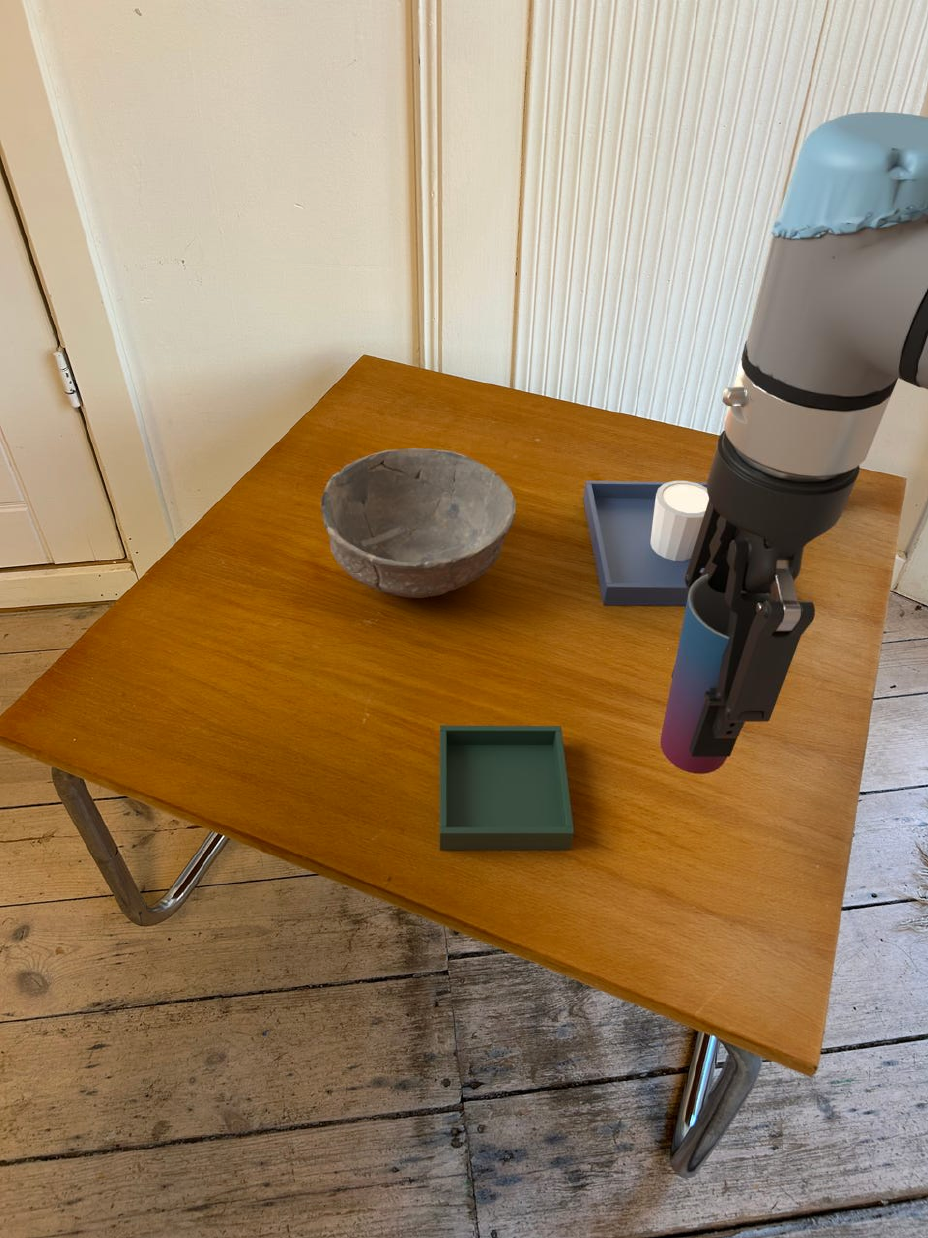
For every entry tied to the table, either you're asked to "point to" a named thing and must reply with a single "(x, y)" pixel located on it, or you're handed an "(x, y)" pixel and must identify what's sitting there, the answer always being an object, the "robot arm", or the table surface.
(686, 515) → the white faceted candle
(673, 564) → the far tray
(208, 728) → the table surface
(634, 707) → the table surface
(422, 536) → the bowl
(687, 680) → the cup
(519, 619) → the table surface
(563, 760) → the near tray
